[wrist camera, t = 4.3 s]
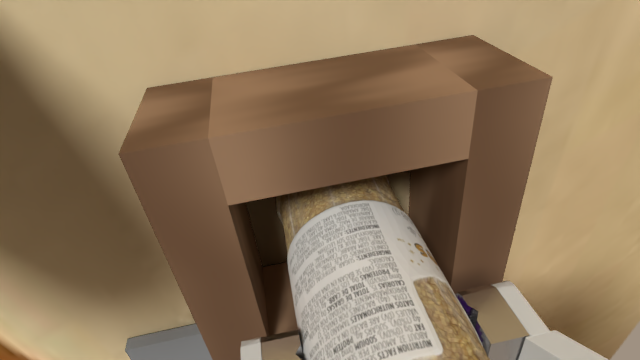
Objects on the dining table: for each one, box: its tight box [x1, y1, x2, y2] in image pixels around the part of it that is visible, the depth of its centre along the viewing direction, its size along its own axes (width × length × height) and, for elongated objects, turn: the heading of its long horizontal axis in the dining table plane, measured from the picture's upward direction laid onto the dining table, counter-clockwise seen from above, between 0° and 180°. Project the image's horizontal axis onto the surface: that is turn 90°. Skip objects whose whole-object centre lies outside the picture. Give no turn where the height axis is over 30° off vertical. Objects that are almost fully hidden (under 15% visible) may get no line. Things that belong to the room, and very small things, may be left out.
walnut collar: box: [119, 35, 552, 360], centre depth 14 cm, size 11×11×4 cm
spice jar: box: [276, 175, 490, 360], centre depth 10 cm, size 5×5×13 cm
